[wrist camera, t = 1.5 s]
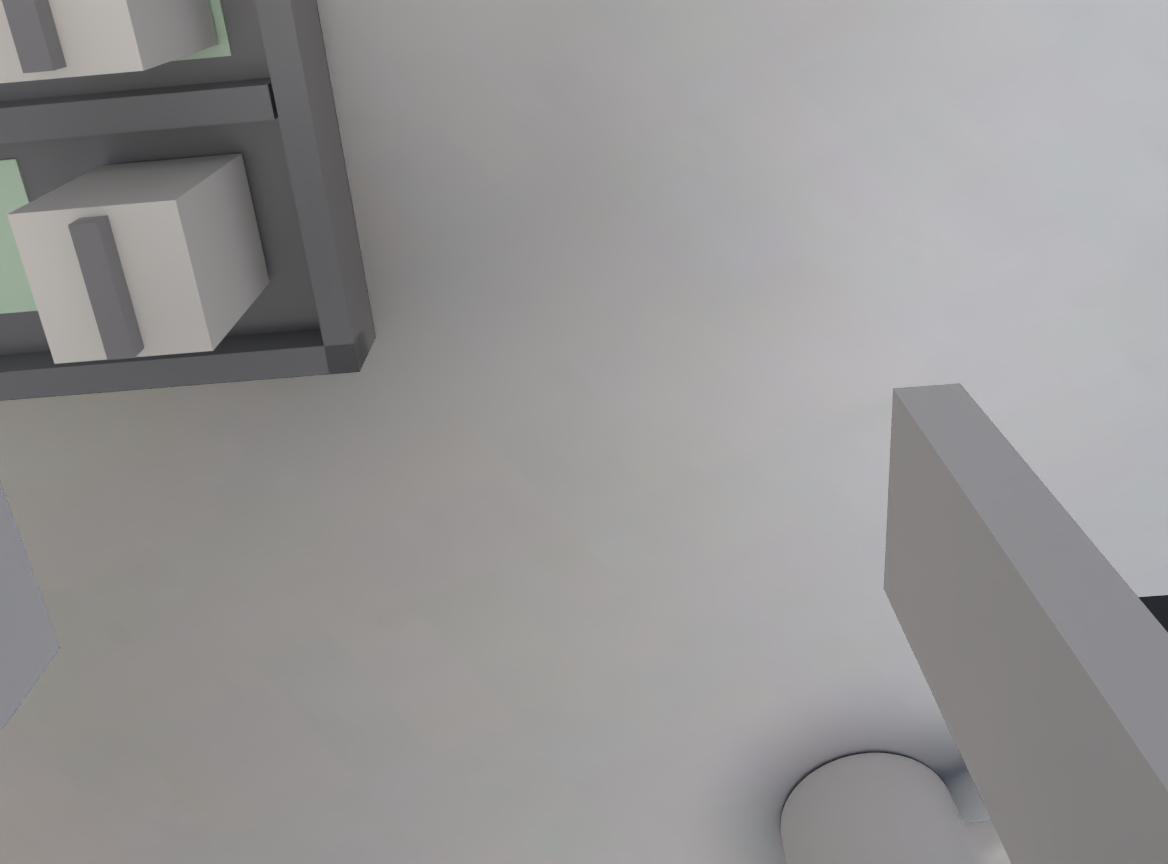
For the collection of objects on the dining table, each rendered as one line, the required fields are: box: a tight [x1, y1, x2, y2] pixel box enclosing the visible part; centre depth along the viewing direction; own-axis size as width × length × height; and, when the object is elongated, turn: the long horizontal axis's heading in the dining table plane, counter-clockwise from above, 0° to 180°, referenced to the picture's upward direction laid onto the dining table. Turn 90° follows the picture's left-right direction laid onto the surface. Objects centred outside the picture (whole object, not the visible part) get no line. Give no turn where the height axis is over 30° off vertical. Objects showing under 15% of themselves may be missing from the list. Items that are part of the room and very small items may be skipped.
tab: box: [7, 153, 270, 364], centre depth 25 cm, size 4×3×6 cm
